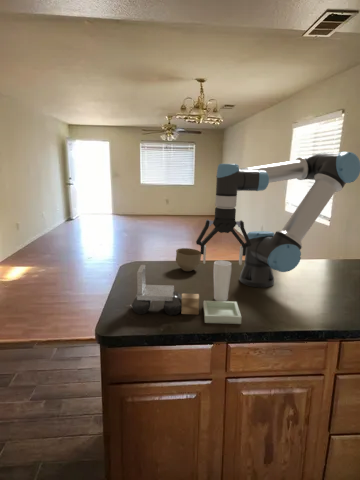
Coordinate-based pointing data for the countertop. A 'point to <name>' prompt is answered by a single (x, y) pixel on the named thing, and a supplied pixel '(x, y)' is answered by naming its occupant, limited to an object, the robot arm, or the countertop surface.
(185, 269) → the bowl
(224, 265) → the drinking glass
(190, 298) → the wooden block
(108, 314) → the countertop surface
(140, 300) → the grey toy cart
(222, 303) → the tray
